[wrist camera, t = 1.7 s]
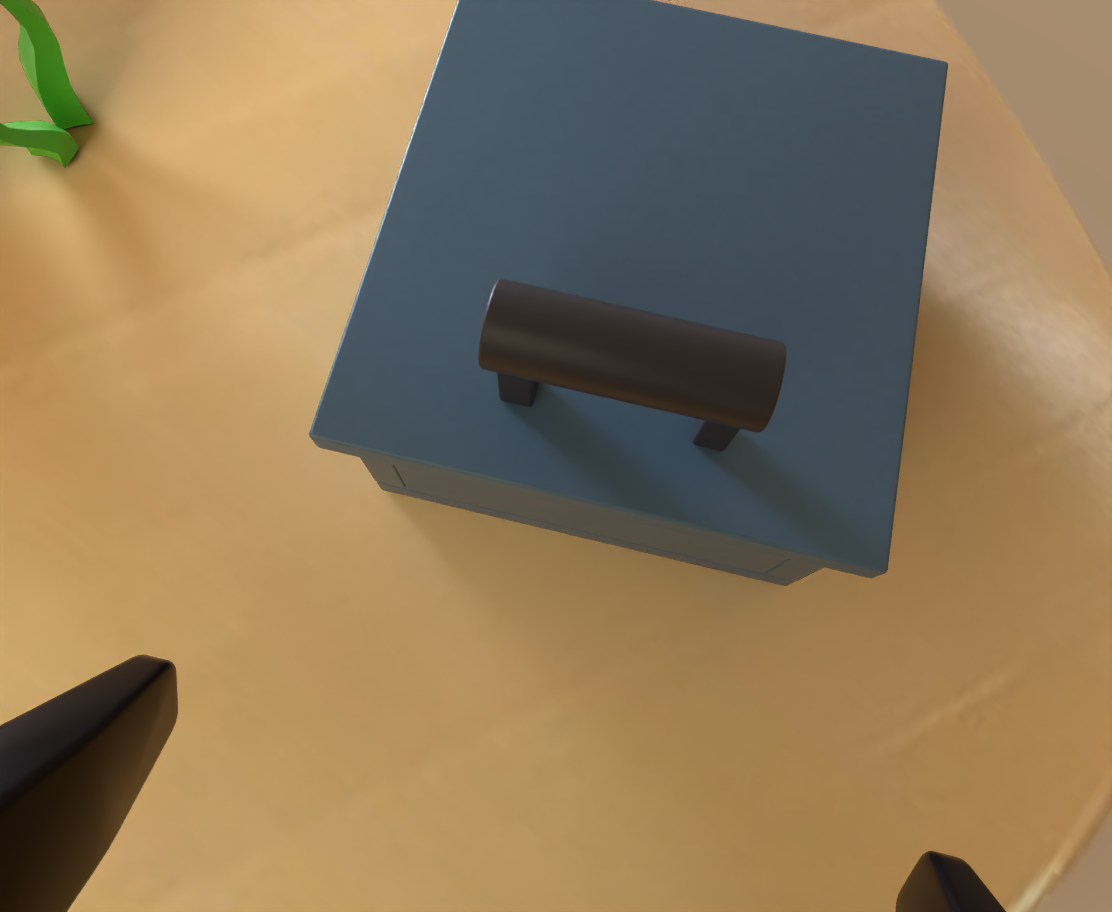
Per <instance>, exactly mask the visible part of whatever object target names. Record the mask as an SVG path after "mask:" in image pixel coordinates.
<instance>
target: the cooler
mask: <svg viewBox="0 0 1112 912" xmlns="http://www.w3.org/2000/svg"><path fill="white" fill-rule="evenodd" d="M360 458H361V457H360ZM361 460H362V461H363V463H364V464H365V466H366V467H367V469H368V470H369V472H370V473H371V475H372V476H373V478H374V479H375V481H377V483H378V484H379V486H380V487H381V489H383V490H385V491H389V492H393V493H398V494H402V495H406V496H410V497H414V498H419V499H423V500H427V501H431V502H435V503H440V504H444V505H448V506H452V507H456V508H461V509H465V510H469V511H473V512H477V513H481V514H486V515H490V516H494V517H498V518H502V519H507V520H511V521H515V522H519V523H523V524H528V525H532V526H536V527H540V528H544V529H549V530H553V531H557V532H561V533H565V534H570V535H574V536H578V537H582V538H586V539H591V540H595V541H599V542H603V543H607V544H611V545H616V546H620V547H624V548H628V549H632V550H637V551H641V552H645V553H649V554H653V555H658V556H662V557H666V558H670V559H674V560H679V561H683V562H687V563H691V564H695V565H700V566H704V567H708V568H712V569H716V570H721V571H725V572H729V573H733V574H737V575H741V576H746V577H750V578H754V579H758V580H762V581H767V582H771V583H775V584H779V585H783V586H787V585H789V584H791V583H793V582H795V581H798V580H800V579H802V578H804V577H806V576H808V575H810V574H812V573H814V572H816V571H818V570H820V569H822V568H824V567H821V566H817V565H813V564H809V563H804V562H800V561H796V560H792V559H787V558H783V557H779V556H775V555H771V554H766V553H762V552H758V551H754V550H750V549H745V548H741V547H737V546H733V545H728V544H724V543H720V542H716V541H712V540H707V539H703V538H699V537H695V536H690V535H686V534H682V533H678V532H674V531H669V530H665V529H661V528H657V527H652V526H648V525H644V524H640V523H636V522H631V521H627V520H623V519H619V518H614V517H610V516H606V515H602V514H598V513H593V512H589V511H585V510H581V509H577V508H572V507H568V506H564V505H560V504H555V503H551V502H547V501H543V500H539V499H534V498H530V497H526V496H522V495H517V494H513V493H509V492H505V491H501V490H496V489H492V488H488V487H484V486H479V485H475V484H471V483H467V482H463V481H458V480H454V479H450V478H446V477H442V476H437V475H433V474H429V473H425V472H420V471H416V470H412V469H408V468H404V467H399V466H395V465H391V464H387V463H382V462H378V461H374V460H370V459H366V458H361Z"/></svg>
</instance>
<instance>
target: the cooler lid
mask: <svg viewBox="0 0 1112 912" xmlns="http://www.w3.org/2000/svg"><path fill="white" fill-rule="evenodd" d="M947 69H948V63H947V62H944V61H939V60H935V59H930V58H925V57H920V56H916V55H911V54H906V53H901V52H896V51H892V50H887V49H882V48H877V47H873V46H868V45H863V44H858V43H854V42H849V41H844V40H839V39H835V38H830V37H825V36H820V35H815V34H811V33H806V32H801V31H796V30H792V29H787V28H782V27H777V26H773V25H768V24H763V23H758V22H754V21H749V20H744V19H739V18H734V17H730V16H725V15H720V14H715V13H711V12H706V11H701V10H696V9H692V8H687V7H682V6H677V5H673V4H668V3H663V2H658V1H653V0H458V1H457V4H456V7H455V10H454V13H453V16H452V19H451V21H450V24H449V27H448V30H447V33H446V36H445V39H444V42H443V45H442V48H441V51H440V54H439V56H438V59H437V62H436V65H435V68H434V71H433V74H432V77H431V80H430V83H429V86H428V89H427V91H426V94H425V97H424V100H423V103H422V106H421V109H420V112H419V115H418V118H417V121H416V123H415V126H414V129H413V132H412V135H411V138H410V141H409V144H408V147H407V150H406V153H405V156H404V158H403V161H402V164H401V167H400V170H399V173H398V176H397V179H396V182H395V185H394V188H393V191H392V193H391V196H390V199H389V202H388V205H387V208H386V211H385V214H384V217H383V220H382V223H381V226H380V228H379V231H378V234H377V237H376V240H375V243H374V246H373V249H372V252H371V255H370V258H369V260H368V263H367V266H366V269H365V272H364V275H363V278H362V281H361V284H360V287H359V290H358V293H357V295H356V298H355V301H354V304H353V307H352V310H351V313H350V316H349V319H348V322H347V325H346V328H345V330H344V333H343V336H342V339H341V342H340V345H339V348H338V351H337V354H336V357H335V360H334V362H333V365H332V368H331V371H330V374H329V377H328V380H327V383H326V386H325V389H324V392H323V395H322V397H321V400H320V403H319V406H318V409H317V412H316V415H315V418H314V421H313V424H312V427H311V430H310V432H309V436H310V438H311V439H312V440H313V441H314V443H315V444H316V445H317V446H318V447H319V448H323V449H328V450H332V451H336V452H340V453H344V454H349V455H353V456H357V457H361V458H366V459H370V460H374V461H378V462H382V463H387V464H391V465H395V466H399V467H404V468H408V469H412V470H416V471H420V472H425V473H429V474H433V475H437V476H442V477H446V478H450V479H454V480H458V481H463V482H467V483H471V484H475V485H479V486H484V487H488V488H492V489H496V490H501V491H505V492H509V493H513V494H517V495H522V496H526V497H530V498H534V499H539V500H543V501H547V502H551V503H555V504H560V505H564V506H568V507H572V508H577V509H581V510H585V511H589V512H593V513H598V514H602V515H606V516H610V517H614V518H619V519H623V520H627V521H631V522H636V523H640V524H644V525H648V526H652V527H657V528H661V529H665V530H669V531H674V532H678V533H682V534H686V535H690V536H695V537H699V538H703V539H707V540H712V541H716V542H720V543H724V544H728V545H733V546H737V547H741V548H745V549H750V550H754V551H758V552H762V553H766V554H771V555H775V556H779V557H783V558H787V559H792V560H796V561H800V562H804V563H809V564H813V565H817V566H821V567H825V568H830V569H834V570H838V571H842V572H847V573H851V574H855V575H859V576H863V577H868V578H874V577H876V576H879V575H881V574H884V573H886V572H887V570H888V562H889V554H890V545H891V537H892V529H893V520H894V512H895V504H896V495H897V487H898V479H899V470H900V462H901V453H902V445H903V437H904V428H905V420H906V412H907V403H908V395H909V387H910V378H911V370H912V361H913V353H914V345H915V336H916V328H917V320H918V311H919V303H920V295H921V286H922V278H923V269H924V261H925V253H926V244H927V236H928V228H929V219H930V211H931V203H932V194H933V186H934V178H935V169H936V161H937V152H938V144H939V136H940V127H941V119H942V111H943V102H944V94H945V86H946V77H947Z"/></svg>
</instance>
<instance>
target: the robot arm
mask: <svg viewBox="0 0 1112 912" xmlns="http://www.w3.org/2000/svg"><path fill="white" fill-rule="evenodd" d="M177 714H178V698H177V675H176V667H175V665H174V664H173V663H172V662H170V661H169V660H165V659H161V658H157V657H153V656H149V655H138V656H135V657H132V658H130V659H128V660H126V661H125V662H123V663H121V664H119V665H117V666H115V667H113V668H111V669H109V670H107V671H105V672H103V673H101V674H99V675H97V676H95V677H94V678H92V679H90V680H88V681H86V682H84V683H82V684H80V685H78V686H76V687H74V688H72V689H70V690H68V691H66V692H64V693H63V694H61V695H59V696H57V697H55V698H53V699H51V700H49V701H47V702H45V703H43V704H41V705H39V706H37V707H35V708H33V709H32V710H30V711H28V712H26V713H24V714H22V715H20V716H18V717H16V718H14V719H12V720H10V721H8V722H6V723H4V724H2V725H1V726H0V912H67V911H68V909H69V908H70V906H71V905H72V903H73V902H74V900H75V899H76V897H77V896H78V894H79V893H80V891H81V890H82V889H83V887H84V886H85V884H86V883H87V881H88V880H89V878H90V877H91V875H92V874H93V872H94V871H95V869H96V868H97V866H98V865H99V863H100V861H101V860H102V858H103V857H104V855H105V854H106V852H107V850H108V849H109V847H110V845H111V844H112V842H113V840H114V838H115V837H116V835H117V833H118V831H119V829H120V828H121V826H122V824H123V822H124V820H125V818H126V816H127V815H128V813H129V811H130V809H131V807H132V805H133V803H134V801H135V800H136V798H137V796H138V794H139V792H140V790H141V788H142V787H143V785H144V783H145V781H146V779H147V777H148V775H149V773H150V772H151V770H152V768H153V766H154V764H155V762H156V760H157V759H158V757H159V755H160V753H161V751H162V749H163V747H164V745H165V744H166V742H167V740H168V738H169V736H170V734H171V732H172V730H173V728H174V725H175V723H176V719H177ZM895 912H1006V911H1005V910H1004V909H1003V907H1002V906H1001V905H1000V903H999V902H998V901H997V900H996V898H995V897H994V896H993V895H992V893H991V892H990V891H989V889H988V888H987V887H986V886H985V884H984V883H983V882H982V881H981V879H980V878H979V877H978V876H977V874H976V873H975V872H974V870H973V869H972V868H971V867H970V866H969V865H968V864H967V863H966V862H965V861H964V860H962V859H960V858H958V857H954V856H950V855H946V854H942V853H938V852H934V851H928V852H926V853H924V854H923V855H922V856H921V857H920V859H919V860H918V862H917V864H916V865H915V867H914V869H913V870H912V872H911V874H910V875H909V877H908V879H907V880H906V882H905V884H904V885H903V887H902V888H901V890H900V892H899V894H898V898H897V902H896V911H895Z"/></svg>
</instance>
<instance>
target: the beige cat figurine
mask: <svg viewBox="0 0 1112 912" xmlns="http://www.w3.org/2000/svg"><path fill="white" fill-rule="evenodd" d="M0 3H1V4H2V5H3V6H4V7H5V8H6V9H7V10H8V11H9V12H10V13H11V14H12V15H13V16H14V17H15V18H16V19H17V20H18V22H19V23H20V34H19V41H18V47H19V59H20V62H21V64H22V66H23V69H24V71H25V73H26V76H27V78H28V80H29V82H30V84H31V86H32V88H33V90H34V91H35V93H36V94H37V96H38V97H39V99H40V101H41V102H42V104H43V105H44V107H45V108H46V110H47V112H48V113H49V115H50V116H51V118H52V120H53V121H54V123H55V125H56V126H55V125H52V124H50V123H47V122H44V121H20V122H11V123H3V124H1V123H0V145H8V146H19V147H27V148H28V150H29V151H30V153H31V155H40V156H46V157H50V158H53V159H55V160H57V161H58V162H60V163H61V164H62V165H63V166H64V167H66V166H67V165H68V163H69V162H70V161H71V159H72V158H73V156H74V155H75V153H76V152H77V150H78V149H79V147H78V146H77V144H76V143H75V141H74V140H73V138H72V137H71V135H70V134H69V133H68V132H66V131H64V130H63V129H67V128H70V127H74V126H79V125H85V124H93V123H94V122H93V121H92V120H91V118H90V117H89V115H88V114H87V113H86V111H85V110H84V109H83V107H82V106H81V105H80V103H79V101H78V99H77V97H76V95H75V93H74V91H73V89H72V87H71V85H70V82H69V79H68V76H67V72H66V69H65V66H64V62H63V58H62V54H61V50H60V46H59V43H58V41H57V39H56V37H55V35H54V34H53V32H52V30H51V28H50V26H49V24H48V22H47V20H46V18H45V16H44V14H43V13H42V11H41V10H40V8H39V7H38V6H37V5H36V4H35V3H34V2H33V1H31V0H0Z"/></svg>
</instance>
